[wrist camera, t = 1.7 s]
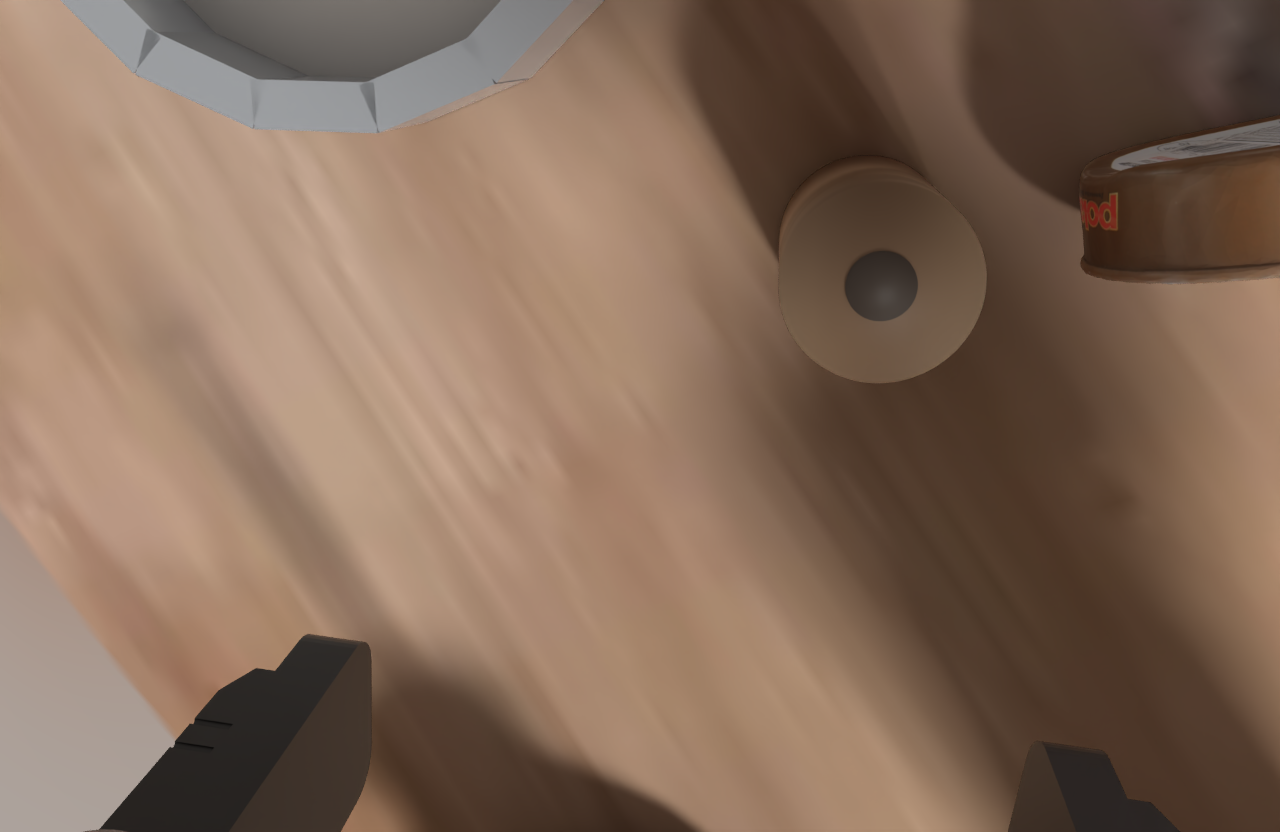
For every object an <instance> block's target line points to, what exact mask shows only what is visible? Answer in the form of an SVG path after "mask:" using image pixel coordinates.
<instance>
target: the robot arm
mask: <svg viewBox="0 0 1280 832" xmlns="http://www.w3.org/2000/svg"><path fill="white" fill-rule="evenodd" d="M371 746H372V712H371V651H370V648H369V645H368V644H367V643H366V642H360V641H353V640H347V639H340V638H333V637H326V636H319V635H312V634H307V635H305V636H303V637H302V638H301V639H300V640H299V642H298V643H297V644H296V646H295V647H294V648H293V649H292V651H291V652H290V653H289V654H288V656H287V657H286V658H285V659H284V661H283V662H282V663H281V664H280V666H279V667H278V668H277V669H276V671H272V670H265V669H258V668H256V669H254V670H252V671H251V672H249V673H247V674H245V675H244V676H242V677H240V678H239V679H237V680H235V681H234V682H232V683H230V684H229V685H227V686H225V687H223V688H222V689H220V690H219V691H218V692H217V693H216V694H215V695H214V696H213V698H212V699H211V700H210V701H209V702H208V703H207V705H206V706H205V707H204V708H203V709H202V710H201V712H200V713H199V714H198V715H197V716H196V717H195V721H194V724H189V726H188V727H187V728H186V729H185V730H184V731H183V733H182V734H181V735H180V736H179V737H178V738H177V740H176V741H175V745H174V747H173V748H171V747H170V748H169V749H168V750H167V751H166V752H165V754H164V755H163V756H162V757H161V758H160V759H159V761H158V762H157V763H156V764H155V765H154V766H153V768H152V769H151V770H150V771H149V772H148V774H147V775H146V776H145V777H144V778H143V779H142V780H141V781H140V783H139V784H138V785H137V786H136V787H135V789H134V790H133V791H132V792H131V793H130V794H129V795H128V797H127V798H126V799H125V800H124V801H123V802H122V804H121V805H120V806H119V807H118V808H117V809H116V811H115V812H114V813H113V814H112V815H111V816H110V818H109V819H108V820H107V821H106V822H105V823H104V825H103V826H102V827H101V828H100V829H99V830H92V831H85V832H341V830H342V828H343V826H344V825H345V823H346V821H347V819H348V817H349V816H350V814H351V812H352V810H353V808H354V806H355V805H356V803H357V801H358V799H359V797H360V795H361V792H362V790H363V787H364V784H365V781H366V777H367V773H368V769H369V764H370V757H371ZM1008 832H1180V831H1179V830H1178V829H1177V828H1176V827H1175V826H1174V825H1173V824H1172V823H1171V822H1170V821H1169V820H1168V819H1167V818H1166V817H1165V816H1164V815H1163V814H1162V813H1161V812H1160V811H1159V810H1158V809H1157V808H1156V807H1155V806H1154V805H1153V804H1152V803H1151V802H1144V801H1137V800H1131V799H1127V797H1126V794H1125V792H1124V790H1123V788H1122V786H1121V784H1120V781H1119V779H1118V777H1117V775H1116V773H1115V770H1114V768H1113V766H1112V764H1111V762H1110V760H1109V758H1108V756H1107V754H1106V753H1105V752H1104V751H1102V750H1096V749H1089V748H1082V747H1075V746H1068V745H1061V744H1054V743H1047V742H1040V741H1036V742H1034V743H1033V744H1032V746H1031V748H1030V750H1029V752H1028V755H1027V759H1026V762H1025V766H1024V770H1023V774H1022V778H1021V782H1020V786H1019V790H1018V794H1017V798H1016V802H1015V806H1014V810H1013V814H1012V818H1011V821H1010V825H1009V829H1008Z"/></svg>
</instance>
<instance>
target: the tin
mask: <svg viewBox="0 0 1280 832" xmlns="http://www.w3.org/2000/svg"><path fill="white" fill-rule="evenodd" d="M1079 199H1080V210H1081V220H1082V229H1083V239H1084V256H1083V257H1082V258H1081V268H1082V270H1083V271H1084V272H1085V273H1086V274H1089V275H1091V276H1094V277H1097V278H1102V279H1106V280H1112V281H1124V282H1135V283H1149V284H1151V283H1161V284H1194V283H1212V282H1227V281H1244V280H1259V279H1269V278H1280V115H1278V116H1272V117H1267V118H1262V119H1257V120H1252V121H1247V122H1242V123H1238V124H1233V125H1228V126H1223V127H1218V128H1213V129H1208V130H1203V131H1198V132H1193V133H1189V134H1184V135H1179V136H1175V137H1170V138H1166V139H1161V140H1157V141H1153V142H1148V143H1144V144H1140V145H1136V146H1132V147H1128V148H1125V149H1121V150H1118V151H1115V152H1111V153H1108V154H1106V155H1103V156H1100V157H1098V158H1096V159H1094V160H1093V161H1091V162H1090V163H1088V164H1087V165H1086V166H1085V168H1084V169H1083V171H1082V173H1081V176H1080V183H1079Z"/></svg>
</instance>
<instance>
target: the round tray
mask: <svg viewBox="0 0 1280 832" xmlns="http://www.w3.org/2000/svg"><path fill="white" fill-rule="evenodd" d="M61 1H62V2H63V3H64V4H65V5H66V6H67V7H68V8H69V9H70V10H71V11H72V12H73V13H74V14H75V15H76V16H77V17H78V18H79V19H80V20H81V21H82V22H83V23H84V24H85V25H86V26H87V27H88V28H89V29H90V30H91V31H92V32H93V33H94V34H95V35H96V36H97V37H98V38H99V39H100V40H101V41H102V42H103V43H104V44H105V45H106V46H107V47H108V48H109V49H110V50H111V51H112V52H113V53H114V54H115V55H116V56H117V57H118V58H119V59H120V60H121V61H122V62H123V63H124V64H125V65H126V66H127V67H128V68H129V69H130V70H131V71H132V72H133V73H136V75H137V76H140V77H142V78H144V79H146V80H148V81H150V82H153V83H155V84H157V85H159V86H161V87H163V88H166V89H168V90H170V91H172V92H174V93H176V94H179V95H181V96H183V97H185V98H187V99H189V100H192V101H194V102H196V103H198V104H200V105H202V106H205V107H207V108H209V109H211V110H213V111H215V112H218V113H220V114H222V115H224V116H226V117H228V118H231V119H233V120H235V121H237V122H239V123H241V124H244V125H246V126H248V127H250V128H252V129H253V128H255V129H265V130H296V131H327V132H358V133H380V132H385V131H389V130H394V129H398V128H403V127H407V126H412V125H416V124H420V123H425V122H428V121H431V120H433V119H436V118H438V117H440V116H443V115H445V114H447V113H450V112H452V111H455V110H457V109H459V108H462V107H464V106H467V105H469V104H471V103H474V102H476V101H478V100H481V99H483V98H486V97H488V96H490V95H493V94H495V93H498V92H500V91H502V90H505V89H507V88H509V87H512V86H514V85H517V84H519V83H521V82H524V81H526V80H529V78H532V76H533V75H534V74H535V73H536V72H537V71H538V70H539V69H540V68H541V67H542V66H543V65H544V64H545V63H546V62H547V61H548V60H549V58H550V57H551V56H552V55H553V54H554V53H555V52H556V51H557V50H558V49H559V48H560V47H561V46H562V45H563V44H564V43H565V42H566V40H567V39H568V38H569V37H570V36H571V35H572V34H573V33H574V32H575V31H576V30H577V29H578V28H579V27H580V26H581V25H582V24H583V22H584V21H585V20H586V19H587V18H588V17H589V16H590V15H591V14H592V13H593V12H594V11H595V10H596V9H597V8H598V7H599V6H600V5H601V3H602V2H603V1H604V0H61Z"/></svg>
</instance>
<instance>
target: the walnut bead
mask: <svg viewBox="0 0 1280 832" xmlns="http://www.w3.org/2000/svg"><path fill="white" fill-rule="evenodd" d="M986 284H987V272H986V263H985V258H984V253H983V250H982V247H981V245H980V242H979V239H978V237H977V235H976V234H975V232H974V230H973V228H972V227H971V225H970V224H969V223H968V221H967V220H966V218H965V217H964V216H963V215H962V214H961V213H960V212H959V211H958V210H957V209H956V208H955V207H954V206H953V205H952V204H951V203H950V202H949V201H948V200H947V199H946V198H945V197H944V196H943V195H941V194H940V193H939V192H938V191H937V190H936V189H935V188H934V187H933V186H932V185H931V184H930V183H929V182H928V181H927V180H926V179H925V178H924V177H923V176H922V175H920V174H919V173H918V172H916V171H915V170H914V169H913V168H911V167H909V166H907V165H905V164H904V163H902V162H899V161H897V160H894V159H891V158H887V157H882V156H874V155H858V156H852V157H847V158H843V159H840V160H837V161H834V162H832V163H830V164H828V165H826V166H824V167H822V168H821V169H819V170H817V171H816V172H815V173H813V174H812V175H811V176H810V177H808V178H807V179H806V180H805V181H804V182H803V183H802V184H801V185H800V187H799V188H798V189H797V191H796V192H795V193H794V195H793V196H792V198H791V200H790V201H789V203H788V205H787V207H786V210H785V212H784V215H783V218H782V222H781V226H780V234H779V301H780V307H781V311H782V315H783V318H784V321H785V323H786V326H787V328H788V330H789V332H790V334H791V335H792V337H793V339H794V340H795V342H796V343H797V344H798V346H799V347H800V348H801V349H802V351H803V352H804V353H805V354H806V355H807V356H808V357H810V358H811V359H812V360H813V361H814V362H816V363H817V364H818V365H820V366H821V367H822V368H824V369H826V370H828V371H830V372H831V373H833V374H836V375H838V376H841V377H843V378H846V379H850V380H854V381H858V382H866V383H890V382H898V381H902V380H906V379H910V378H913V377H915V376H918V375H921V374H923V373H925V372H927V371H929V370H931V369H933V368H935V367H936V366H938V365H939V364H941V363H942V362H943V361H945V360H946V359H947V358H949V357H950V356H951V355H952V354H953V353H954V352H955V351H956V350H957V349H958V348H959V347H960V346H961V345H962V344H963V342H964V341H965V340H966V339H967V337H968V336H969V334H970V333H971V331H972V330H973V328H974V326H975V324H976V322H977V320H978V318H979V315H980V313H981V310H982V307H983V304H984V299H985V294H986Z"/></svg>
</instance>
